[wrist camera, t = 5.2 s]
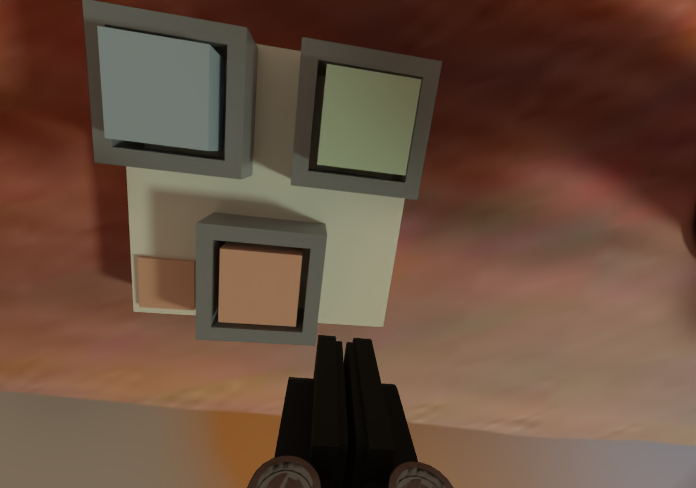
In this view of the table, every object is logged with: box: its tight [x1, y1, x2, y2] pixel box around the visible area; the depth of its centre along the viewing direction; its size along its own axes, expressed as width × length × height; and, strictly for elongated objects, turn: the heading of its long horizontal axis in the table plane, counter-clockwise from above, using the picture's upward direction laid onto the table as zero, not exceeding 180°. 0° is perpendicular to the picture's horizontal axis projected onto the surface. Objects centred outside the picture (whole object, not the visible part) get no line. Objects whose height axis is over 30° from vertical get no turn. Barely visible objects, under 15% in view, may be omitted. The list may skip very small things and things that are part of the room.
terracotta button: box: [218, 241, 303, 327], centre depth 19 cm, size 4×4×2 cm
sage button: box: [317, 64, 421, 175], centre depth 16 cm, size 4×4×2 cm
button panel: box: [82, 0, 442, 346], centre depth 19 cm, size 16×16×6 cm
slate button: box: [97, 26, 225, 151], centre depth 15 cm, size 4×4×2 cm
